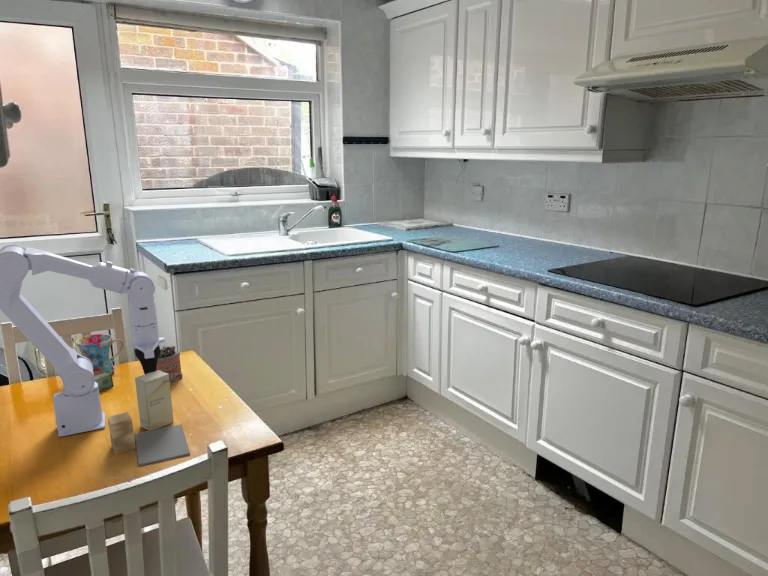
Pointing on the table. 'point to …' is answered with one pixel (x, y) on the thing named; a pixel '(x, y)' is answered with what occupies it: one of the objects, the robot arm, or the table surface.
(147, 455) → the plate
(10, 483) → the table surface
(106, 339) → the mug
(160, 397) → the skincare box
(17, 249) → the robot arm
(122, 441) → the oak block
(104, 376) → the medication box
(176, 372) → the reddish brown pouch
